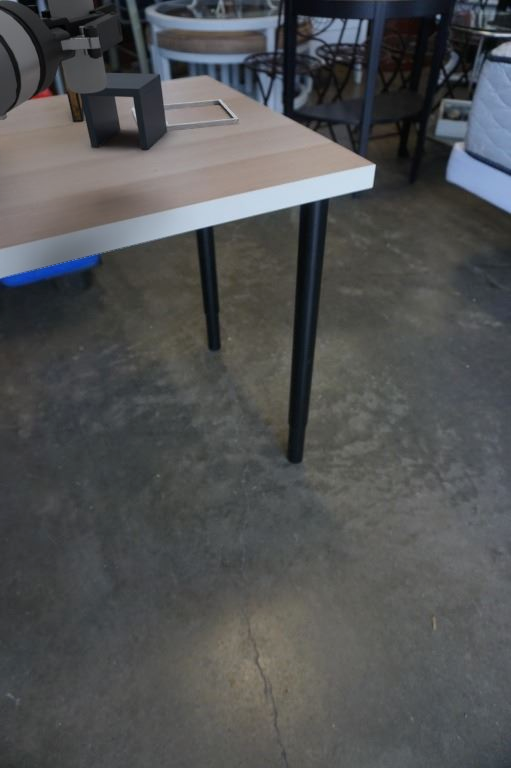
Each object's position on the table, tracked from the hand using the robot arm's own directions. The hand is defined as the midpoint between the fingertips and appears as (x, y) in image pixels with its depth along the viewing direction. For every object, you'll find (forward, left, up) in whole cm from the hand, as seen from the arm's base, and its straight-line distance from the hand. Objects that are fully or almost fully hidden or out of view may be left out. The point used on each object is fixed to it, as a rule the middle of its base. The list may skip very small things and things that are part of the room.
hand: (91, 17), depth 64 cm
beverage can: (0, -5, -7) cm, 9 cm away
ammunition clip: (-22, +32, -20) cm, 44 cm away
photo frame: (-1, +32, -20) cm, 38 cm away
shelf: (-6, +19, -20) cm, 28 cm away
